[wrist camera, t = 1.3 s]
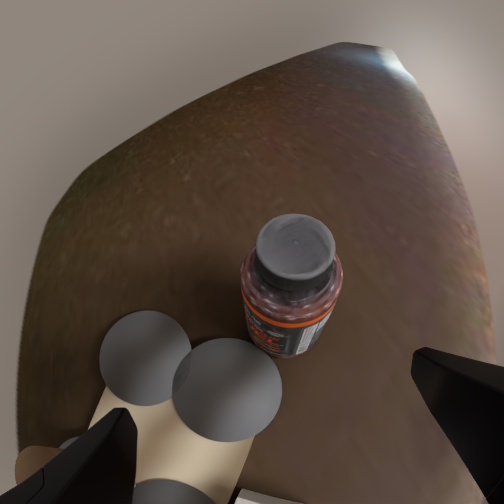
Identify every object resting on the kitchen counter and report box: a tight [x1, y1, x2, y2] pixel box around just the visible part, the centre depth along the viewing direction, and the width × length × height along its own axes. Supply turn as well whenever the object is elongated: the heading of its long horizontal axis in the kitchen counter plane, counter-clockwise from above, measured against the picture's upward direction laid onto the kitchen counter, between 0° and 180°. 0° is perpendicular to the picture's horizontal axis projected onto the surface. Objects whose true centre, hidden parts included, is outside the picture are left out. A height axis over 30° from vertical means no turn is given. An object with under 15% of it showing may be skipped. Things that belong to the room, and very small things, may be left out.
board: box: [15, 311, 282, 504], centre depth 16 cm, size 15×20×7 cm
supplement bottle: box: [240, 214, 343, 359], centre depth 19 cm, size 6×6×11 cm
